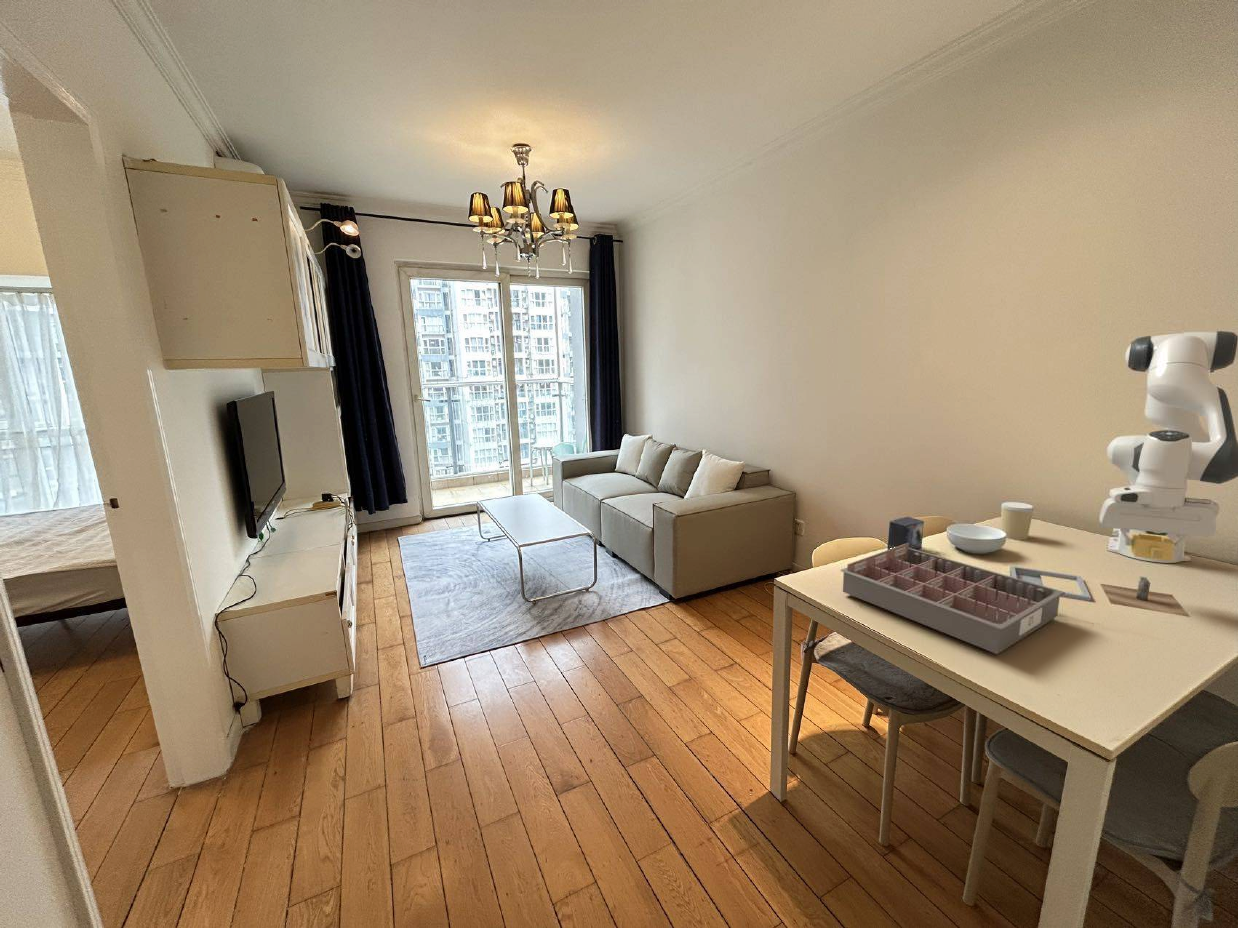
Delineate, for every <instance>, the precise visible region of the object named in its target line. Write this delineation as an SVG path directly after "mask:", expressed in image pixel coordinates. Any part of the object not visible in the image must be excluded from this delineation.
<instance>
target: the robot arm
mask: <svg viewBox="0 0 1238 928" xmlns="http://www.w3.org/2000/svg"><path fill="white" fill-rule="evenodd" d="M1124 359H1125V363H1126V365H1127V367H1128V368H1129V369H1130V370H1131V371H1135V372H1140V373H1141V372H1143V373H1145V372H1147V377H1146V389H1147V390H1146V392H1147V393H1146V399H1145V405H1144V411H1143V412H1144V417H1145V418H1146V420H1148V422H1151V423H1152V424H1155V425H1157V426H1160V427H1161V428H1164V429H1166V430H1155V431H1151V432H1148V433H1147V435H1146V434H1145V435H1144V434H1134V435H1133V434H1132V435H1122V436H1121V435H1120V436H1117V437H1116V438H1114V439H1113V440H1111V441H1110V442H1109V444H1108V446H1107V448H1106V455H1107V459H1108V461H1110V463H1112V464H1113V465H1114V466H1115V467H1117V468H1118V469H1119V470H1121V471H1122V472H1123V474H1124V475H1125V476H1126V478H1127V479H1128V482H1129V486H1121V487H1120V486H1119V487H1115V488H1114V487H1113V488H1111V489H1109V492H1108V494H1109V496H1110V497H1108V498H1106V499H1105V500H1104V502H1103V504H1102V505H1101V509H1100V512H1099V513H1100V514H1099V517H1098V518H1099V519H1098V521H1099V523H1100V524H1101V526H1103V527H1106V528H1113V529H1112V535H1113V536H1110V537H1109V540H1108V544H1107V548H1106V550H1107V551H1109V552H1112V553H1116V554H1120V555H1123V556H1125V557H1129V558H1133V559H1136V560H1141V561H1146V562H1152V563H1165V564H1174V563H1175V564H1176V563H1180V562H1190V561H1191V557H1190V556H1189V555H1186V554H1185V546H1186V541H1188V538H1189V536H1190V537H1198V538H1199V537H1201V538H1212V537H1213V536H1214V535H1215V534H1216V529H1217V528H1216V526H1217V523H1216V517H1218V515H1219V514H1220V508H1221V507H1220V505H1219V504H1218V503H1217V502H1215V501H1213V500H1212V499H1206V498H1194V497H1187V496H1186V495H1187V489H1188V481H1187V480H1189V481H1199V482H1204V483H1210V484H1215V485H1216V484H1217V485H1218V484H1219V485H1220V484H1224V483H1227V482H1230V481H1232V480H1234V479H1237V478H1238V440H1237V439H1238V438H1237V435H1236V429H1235V425H1234V419H1233V415H1232V409H1231V405H1230V402H1229V398H1228V395H1227V393H1226V391H1225V390H1224V389H1223V388H1221V387H1218V386H1216V385H1214V384H1213V382H1212V381H1211V380H1210V378H1209V374H1212V373H1214V372H1215V371H1217V370H1221V369H1222V370H1223V369H1226V368H1227V367H1229V366H1231V365H1233V364H1234V361H1236V359H1238V335H1237V334H1236V333H1235V332H1233V331H1224V330H1216V331H1215V332H1214V331H1187V332H1186V331H1183V332H1182V333H1181V332H1180V333H1178V332H1177V333H1169V334H1163V335H1162V334H1159V335H1154V336H1151V335H1147V336H1141V337H1138V338H1136V339H1133V341H1131V342H1130V344H1129V346H1127V349H1126V351H1125V354H1124ZM1200 416H1202V417H1203V419H1205V421H1206V424H1207V425H1206V426H1207V430H1208V432H1207V431H1206V430H1205V428H1204V427H1203V426H1202V424H1201V421H1200ZM1131 532H1134V533H1143V534H1152V535H1162V536H1167V537H1168V538H1169V539H1170V540H1171V541H1172V542H1173V543H1174V544H1175V546H1174V552H1173V557H1172V561H1167V560H1159V559H1151V558H1144V557H1136V556H1134V555H1133V554H1132V552H1131V551H1130V550H1129V548H1128V547H1129V546H1133V545H1134V544H1133V543H1134V539H1133V538H1130V534H1131Z"/></svg>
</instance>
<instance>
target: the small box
mask: <svg viewBox="0 0 1238 928" xmlns="http://www.w3.org/2000/svg"><path fill="white" fill-rule="evenodd" d="M924 524H925V521H924V520H921V519H918V518H914V517H911V516H905V517H900V518H897V519H893V520H890V521H889V525H888V526H889V527H888V540H887V548H886V549H887V550H889V549H890V548H894V547H898V546H901V545H904V544H907V543H909V548H911V549H915V550H918V551H919V550H921V549H922V546H923V534H924Z"/></svg>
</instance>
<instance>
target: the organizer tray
mask: <svg viewBox="0 0 1238 928" xmlns="http://www.w3.org/2000/svg"><path fill="white" fill-rule="evenodd" d="M839 571H840V572H843V581H842V593H845V594H848V595H850V596H852V597H855V598H857V599H860V600H862V601H865V602H868V603H870V604H873V605H875V606H876V607H878V608H879V607H880V608H883V609H885V610H887V611H889V612H892V613H894V614H896V615H898V616H902V617H904V618H907V619H909V620H912V621H915V622H917V623H919V624H921V625H924V626H927V627H929V628H931V629H935V630H937V631H939V632H942V633H944V634H947V635H949V636H951V637H954V638H956V639H959V640H960V641H964V642H966V643H969V644H971V645H974V646H976V647H978V648H981V649H984V650H986V651H988V652H991V653H993V654H995V655H999V654H1000V653H1001V652H1003V651H1005V650H1006V649H1008V648H1009V647H1011V646H1012V645H1014V644H1016V643H1017V642H1019V641H1021V640H1022V639H1024V638H1025V637H1027V636H1028V635H1030V634H1032V633H1033V632H1035V631H1036V630H1038V629H1039V628H1041V627H1043V626H1044V625H1045V624H1047V623H1049V622H1050V621H1052V620H1053V619H1055V618H1057V617H1058V612H1059V606H1060V605H1059V604H1060V600H1061V599H1060V598H1061V597H1062V595H1063V594H1065V592H1066V591H1064V590H1063V591H1062V590H1059V589H1056V588H1052V587H1048V586H1045V585H1043V586H1042V585H1038V584H1035V583H1031V582H1028V581H1024V580H1021V579H1017V578H1014V577H1010V575H1006V574H1003V573H999V572H997V571H991V570H989V569H985V568H981V567H979V566H975V565H971V564H967V563H964V562H961V561H957V560H953V559H950V558H946V557H943V556H939V555H937V554H932V553H929V552H925V551H922V550H919V549H918V550H915V549H911V548H909V543H907V544H904V545H901V546H898V547H895V548H892V549H887V550H884V551H881V552H879V553H875V554H873V555H870V556H867V557H863V558H862V559H858V560H855V561H854V562H849V563H847V566H846V567H845V568H841V569H840V570H839Z"/></svg>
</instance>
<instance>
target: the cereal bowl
mask: <svg viewBox="0 0 1238 928" xmlns="http://www.w3.org/2000/svg"><path fill="white" fill-rule="evenodd" d="M946 536H947V537H946V538H947V540H948V542H949V543H950V544H951V545H952V546H954V547H956V548H958V549H961V550H962V551H963V552H966V553H969V554H974V555H986V554H989V553H992V552H997V551H999V550H1001V549H1002V548H1003V547H1004V546H1005V544H1006V541H1007V538H1006V533H1005V532H1003V531H1001V529H998V528H996V527H992V526H989V525H988V526H987V525H981V524H972V523H956V524H955V523H954V524H951V525H948V527H946Z"/></svg>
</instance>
